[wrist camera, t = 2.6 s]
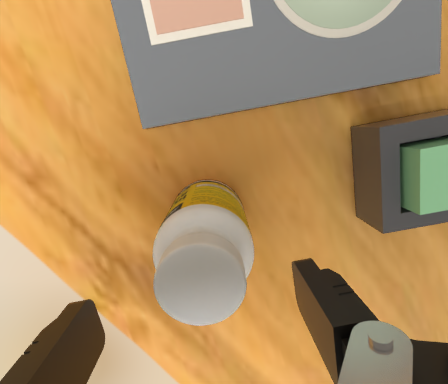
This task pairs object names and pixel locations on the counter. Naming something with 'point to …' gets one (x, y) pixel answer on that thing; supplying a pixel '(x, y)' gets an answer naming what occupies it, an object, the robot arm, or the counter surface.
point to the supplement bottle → (203, 255)
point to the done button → (424, 176)
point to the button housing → (390, 169)
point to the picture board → (268, 51)
